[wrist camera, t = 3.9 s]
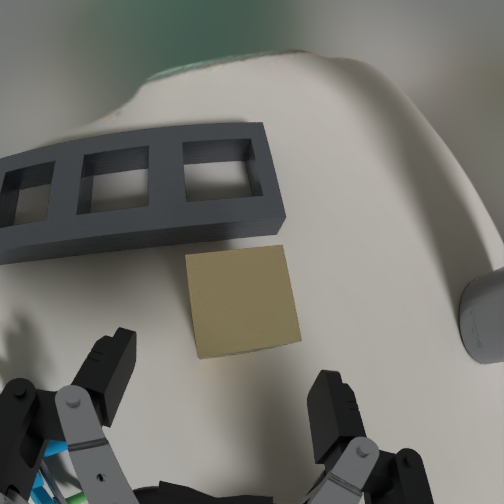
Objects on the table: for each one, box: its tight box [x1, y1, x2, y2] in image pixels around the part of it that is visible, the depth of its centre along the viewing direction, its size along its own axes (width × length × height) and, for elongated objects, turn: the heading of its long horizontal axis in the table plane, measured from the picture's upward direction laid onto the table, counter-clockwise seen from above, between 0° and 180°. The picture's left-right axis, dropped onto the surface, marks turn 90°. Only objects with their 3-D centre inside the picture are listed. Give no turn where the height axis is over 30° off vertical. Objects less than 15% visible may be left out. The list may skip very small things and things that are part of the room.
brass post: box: [185, 245, 302, 359], centre depth 16 cm, size 4×4×10 cm
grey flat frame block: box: [0, 122, 286, 265], centre depth 22 cm, size 24×9×3 cm, turn 100°
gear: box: [30, 440, 87, 504], centre depth 13 cm, size 11×6×10 cm
